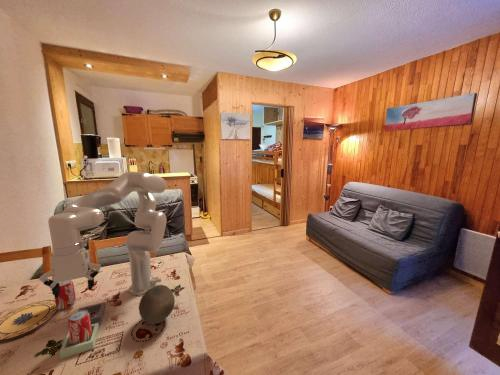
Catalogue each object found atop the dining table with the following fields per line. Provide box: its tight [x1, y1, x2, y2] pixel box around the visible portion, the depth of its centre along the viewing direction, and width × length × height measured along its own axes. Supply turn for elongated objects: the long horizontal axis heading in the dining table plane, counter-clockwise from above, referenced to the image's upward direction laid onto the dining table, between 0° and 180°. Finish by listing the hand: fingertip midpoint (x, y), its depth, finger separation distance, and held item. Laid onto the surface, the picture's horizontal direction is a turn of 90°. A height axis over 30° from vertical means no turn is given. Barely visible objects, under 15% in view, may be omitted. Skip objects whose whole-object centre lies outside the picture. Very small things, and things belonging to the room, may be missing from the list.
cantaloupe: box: [138, 284, 176, 325], centre depth 90 cm, size 14×14×15 cm
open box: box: [59, 302, 106, 360], centre depth 86 cm, size 10×22×3 cm, turn 25°
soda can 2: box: [67, 310, 92, 346], centre depth 79 cm, size 6×6×12 cm
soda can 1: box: [53, 280, 77, 310], centre depth 98 cm, size 7×7×12 cm
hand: (75, 291), depth 77 cm, fingers open, 9 cm apart
